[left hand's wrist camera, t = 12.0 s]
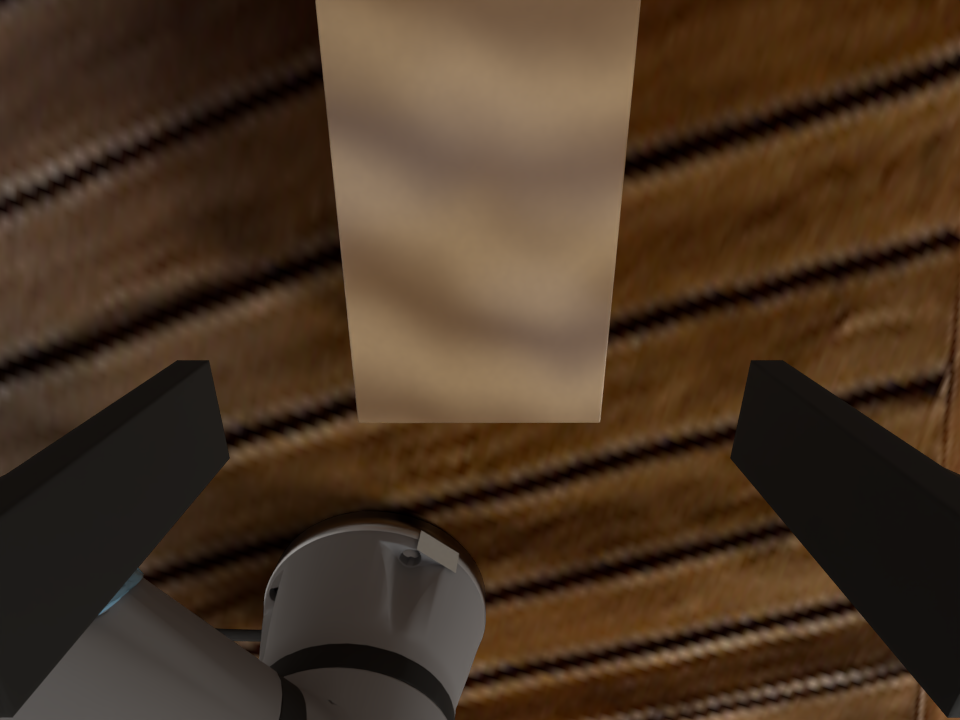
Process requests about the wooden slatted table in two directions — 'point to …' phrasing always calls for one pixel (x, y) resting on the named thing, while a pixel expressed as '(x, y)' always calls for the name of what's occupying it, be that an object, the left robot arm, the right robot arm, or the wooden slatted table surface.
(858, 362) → the wooden slatted table surface
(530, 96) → the cabinet
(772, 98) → the wooden slatted table surface
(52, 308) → the wooden slatted table surface
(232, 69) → the wooden slatted table surface
